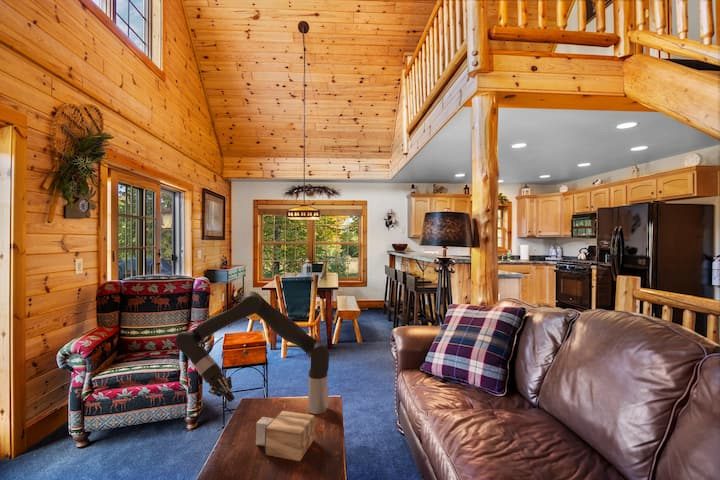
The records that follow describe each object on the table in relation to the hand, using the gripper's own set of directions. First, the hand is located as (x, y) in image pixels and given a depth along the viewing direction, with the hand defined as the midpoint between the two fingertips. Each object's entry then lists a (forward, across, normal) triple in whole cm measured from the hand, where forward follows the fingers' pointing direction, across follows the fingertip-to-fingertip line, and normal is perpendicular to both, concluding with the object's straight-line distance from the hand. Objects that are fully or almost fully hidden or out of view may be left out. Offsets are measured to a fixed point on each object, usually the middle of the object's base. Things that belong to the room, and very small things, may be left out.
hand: (232, 400), depth 143 cm
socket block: (+30, 0, -8) cm, 31 cm away
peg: (+24, 0, -2) cm, 25 cm away
